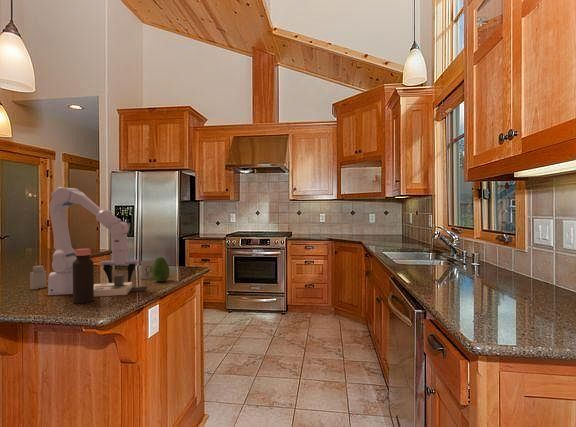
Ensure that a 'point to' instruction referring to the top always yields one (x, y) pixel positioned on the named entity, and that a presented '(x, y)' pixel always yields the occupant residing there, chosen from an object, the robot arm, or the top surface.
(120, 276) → the breaker slider
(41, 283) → the power adapter
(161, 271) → the avocado
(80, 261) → the bottle
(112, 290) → the power strip
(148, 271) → the electrical switch
